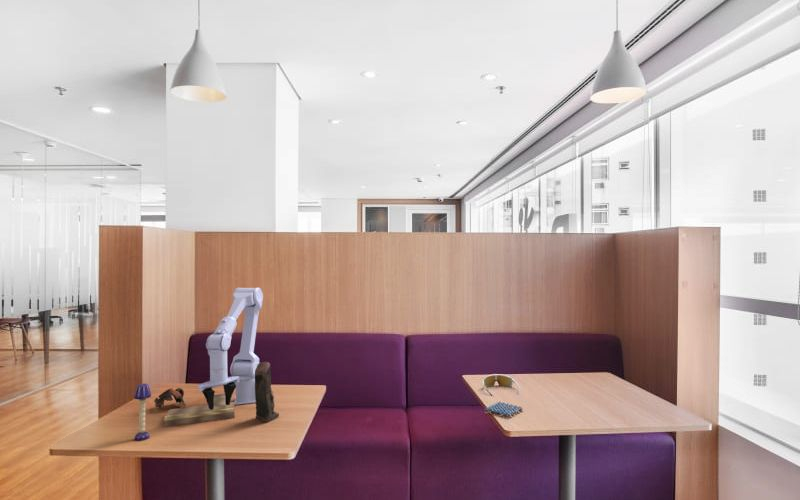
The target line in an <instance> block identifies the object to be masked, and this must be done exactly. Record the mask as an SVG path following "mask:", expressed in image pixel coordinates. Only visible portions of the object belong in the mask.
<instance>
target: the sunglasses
mask: <svg viewBox="0 0 800 500" xmlns="http://www.w3.org/2000/svg"><path fill="white" fill-rule="evenodd" d="M496 382H497V384H498V386H501V387H503V386H504V387H510V388H512V387H513V384H515V385H516V386H517V387H518V395H517V396H520V391H521V390H520V389H521V387H520V385H519V384H518V382H517V381H516V380H515V379H514V378H512V377H511V376H509V375H506V374H502V373H500V374H498V373H493V374H489V375H486V376H485V377H484V378H483V379H482V387H483V388H484V389H485V391H487V392H488V394H489V395H491V396H492V397H494V394H493V393H492V392H491V391H490V390H488V388H489V387H493V386H495V384H496ZM487 387H488V388H487Z"/></svg>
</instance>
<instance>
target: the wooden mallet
mask: <svg viewBox="0 0 800 500" xmlns="http://www.w3.org/2000/svg"><path fill="white" fill-rule="evenodd" d="M220 409H226V403H225V393H221V394H214V408H213V410H220Z"/></svg>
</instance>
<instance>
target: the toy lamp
mask: <svg viewBox="0 0 800 500" xmlns="http://www.w3.org/2000/svg"><path fill="white" fill-rule="evenodd" d="M135 389H136V390H135V393H134V399H135V400H138V401H139V403H138V407H139V408H138V409H139V410H138V412H139V413H138V417H139V419H138V427H139V428H138V432H137V433H136V434H135V435H134V437H133V440H134V441H144V440H147V439H150V437H151V436H150V433H149V432H148V431H146V414H147V413H146V411H147V409H146V401H147V400H146V399H149V398H151V397H152V393H151V390H150V386H149V384H148V383H140V384H138V385H137V386H136V388H135Z"/></svg>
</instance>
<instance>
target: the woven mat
mask: <svg viewBox="0 0 800 500" xmlns="http://www.w3.org/2000/svg"><path fill="white" fill-rule="evenodd" d="M523 412H524V409H523V407H522V406H517V404H516V405H513V404H511V403H510V404H509V403H505V402H501V401H498V402H496V403H493V404H491V405H489V406H486V407H485V408H484V412H483V413H485V414H489V415H493V416H496V417H500V418H504V419H508V420H510V419H511V418H514V417H515V416H517V415H518V414H521V413H523Z"/></svg>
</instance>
